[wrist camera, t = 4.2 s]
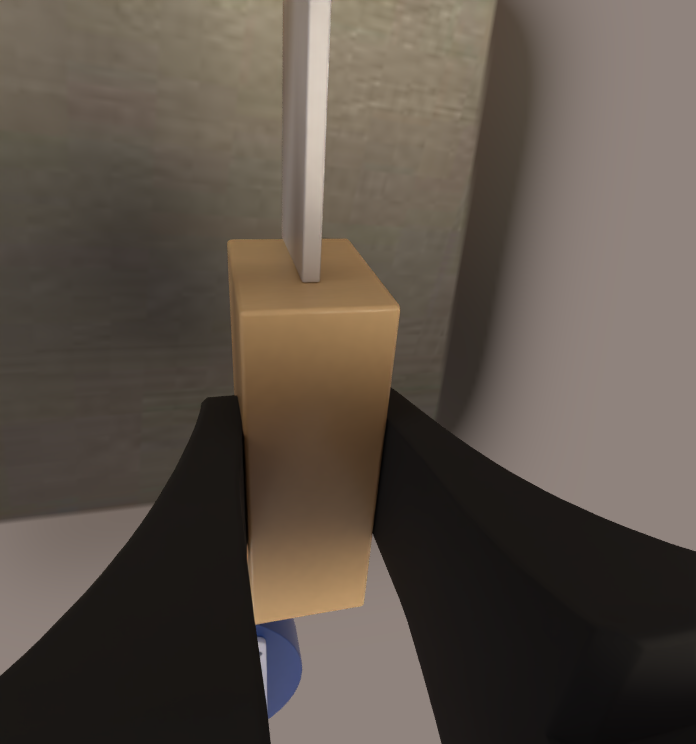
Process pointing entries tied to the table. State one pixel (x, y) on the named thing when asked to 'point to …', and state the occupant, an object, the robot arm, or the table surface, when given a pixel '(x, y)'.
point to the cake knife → (308, 366)
